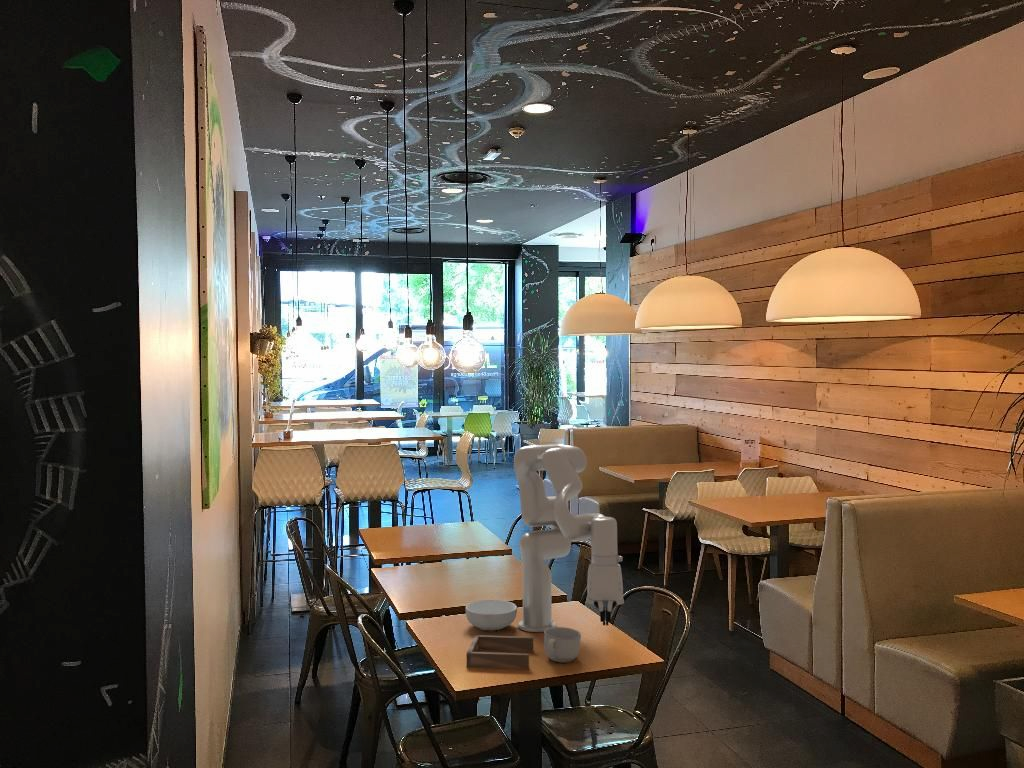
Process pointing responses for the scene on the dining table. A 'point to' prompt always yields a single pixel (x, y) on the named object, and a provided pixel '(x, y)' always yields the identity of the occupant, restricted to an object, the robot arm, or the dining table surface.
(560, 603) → the dining table surface
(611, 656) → the dining table surface
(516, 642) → the walnut bay
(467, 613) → the cereal bowl
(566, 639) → the teacup
